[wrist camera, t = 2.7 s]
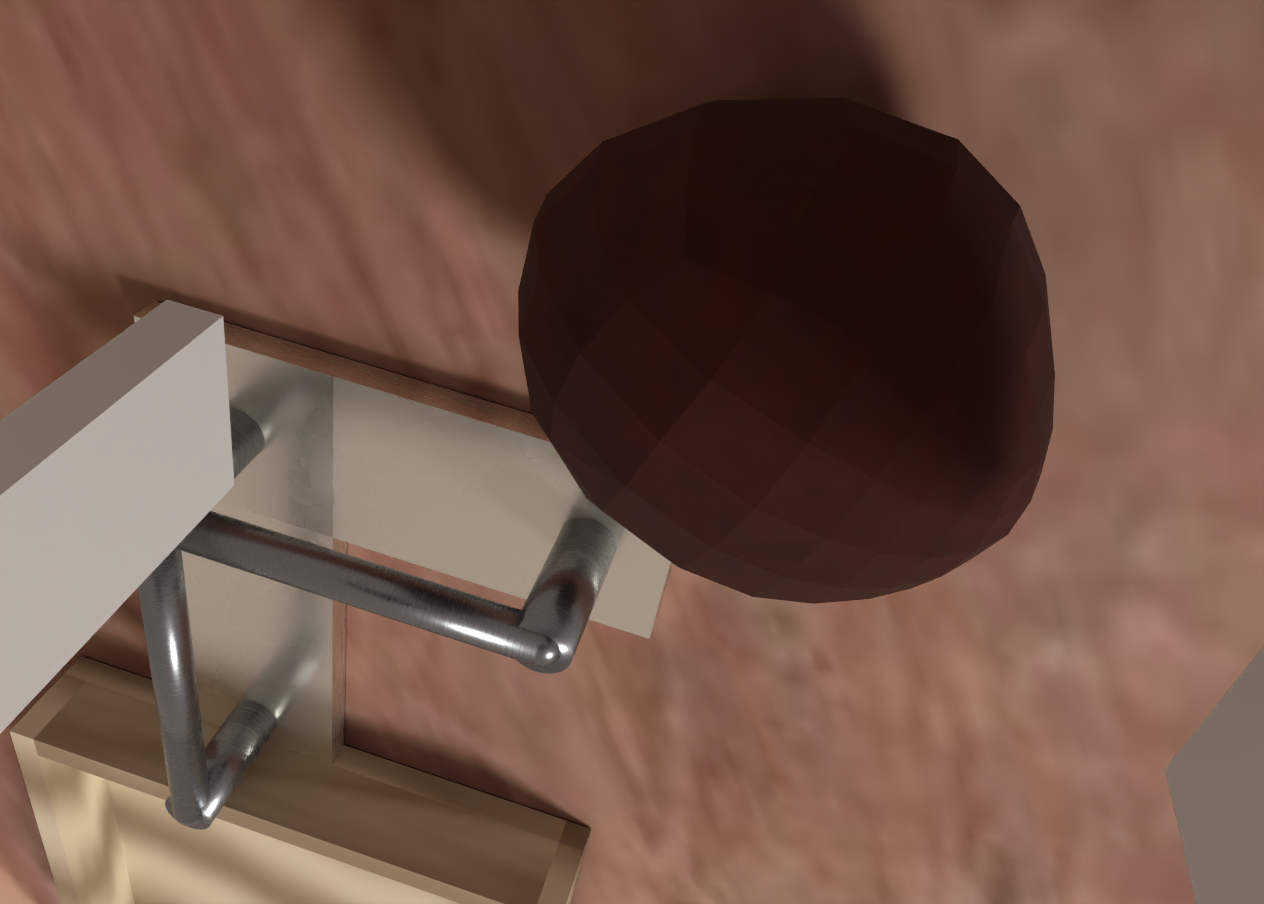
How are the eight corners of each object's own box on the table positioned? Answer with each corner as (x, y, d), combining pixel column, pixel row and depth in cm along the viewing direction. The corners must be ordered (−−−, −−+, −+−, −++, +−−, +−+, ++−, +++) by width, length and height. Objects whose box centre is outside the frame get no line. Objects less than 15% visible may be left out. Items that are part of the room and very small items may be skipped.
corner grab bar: (154, 301, 24) (11, 401, 21) (698, 464, 23) (651, 604, 19) (203, 721, 34) (111, 843, 30) (590, 853, 33) (544, 998, 29)
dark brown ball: (883, 509, 23) (860, 795, 16) (520, 287, 22) (352, 501, 16) (1165, 220, 18) (1280, 472, 12) (713, -81, 17) (582, 20, 11)
